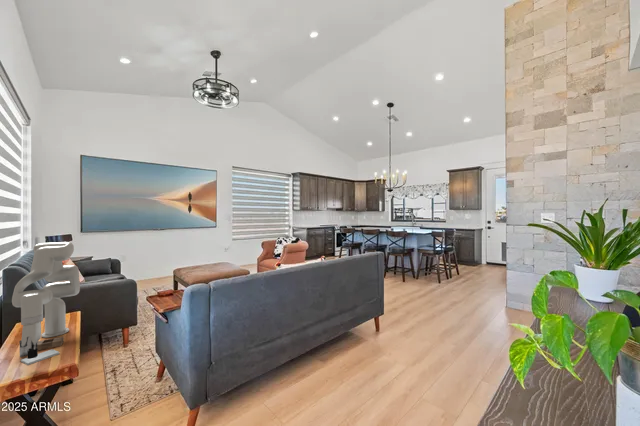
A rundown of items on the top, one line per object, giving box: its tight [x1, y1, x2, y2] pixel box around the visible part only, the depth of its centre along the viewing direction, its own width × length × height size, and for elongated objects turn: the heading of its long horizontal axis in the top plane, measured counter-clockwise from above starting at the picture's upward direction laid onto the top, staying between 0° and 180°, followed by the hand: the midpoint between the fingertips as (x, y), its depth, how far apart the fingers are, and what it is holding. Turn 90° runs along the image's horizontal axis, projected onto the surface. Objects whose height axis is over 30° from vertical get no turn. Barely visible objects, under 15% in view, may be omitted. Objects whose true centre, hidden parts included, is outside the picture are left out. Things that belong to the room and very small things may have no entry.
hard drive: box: [20, 348, 60, 366], centre depth 148 cm, size 2×8×12 cm
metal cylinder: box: [19, 339, 28, 358], centre depth 150 cm, size 3×3×8 cm
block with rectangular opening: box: [37, 336, 65, 351], centre depth 160 cm, size 6×12×3 cm, turn 122°
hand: (32, 357), depth 137 cm, fingers closed
